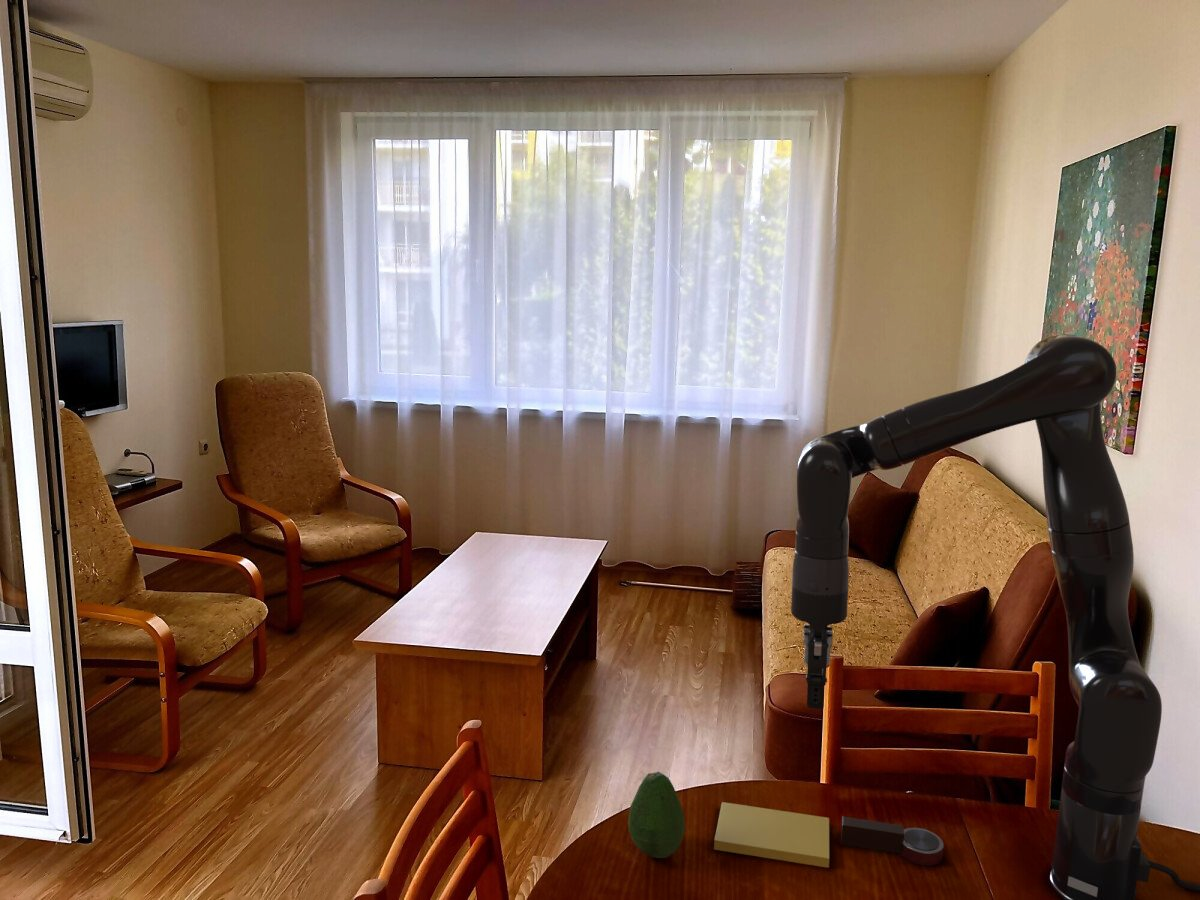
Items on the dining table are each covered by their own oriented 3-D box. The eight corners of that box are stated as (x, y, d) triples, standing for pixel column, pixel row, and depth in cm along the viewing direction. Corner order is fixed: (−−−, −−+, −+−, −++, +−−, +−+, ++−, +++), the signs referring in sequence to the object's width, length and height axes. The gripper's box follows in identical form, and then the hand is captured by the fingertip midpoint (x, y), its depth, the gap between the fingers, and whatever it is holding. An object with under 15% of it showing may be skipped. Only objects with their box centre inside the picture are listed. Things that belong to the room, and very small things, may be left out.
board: (828, 826, 136) (829, 817, 136) (828, 868, 126) (829, 858, 126) (721, 810, 140) (722, 801, 139) (714, 849, 130) (714, 840, 130)
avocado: (661, 830, 134) (663, 755, 132) (694, 858, 128) (697, 781, 126) (616, 847, 130) (618, 771, 128) (648, 878, 124) (650, 798, 121)
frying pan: (939, 843, 132) (941, 823, 132) (945, 869, 127) (947, 848, 126) (840, 828, 136) (842, 809, 135) (841, 852, 130) (842, 832, 129)
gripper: (849, 603, 117) (844, 720, 120) (846, 569, 130) (841, 675, 133) (790, 599, 119) (786, 714, 122) (793, 566, 132) (789, 670, 135)
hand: (815, 693), depth 128 cm, fingers open, 8 cm apart
